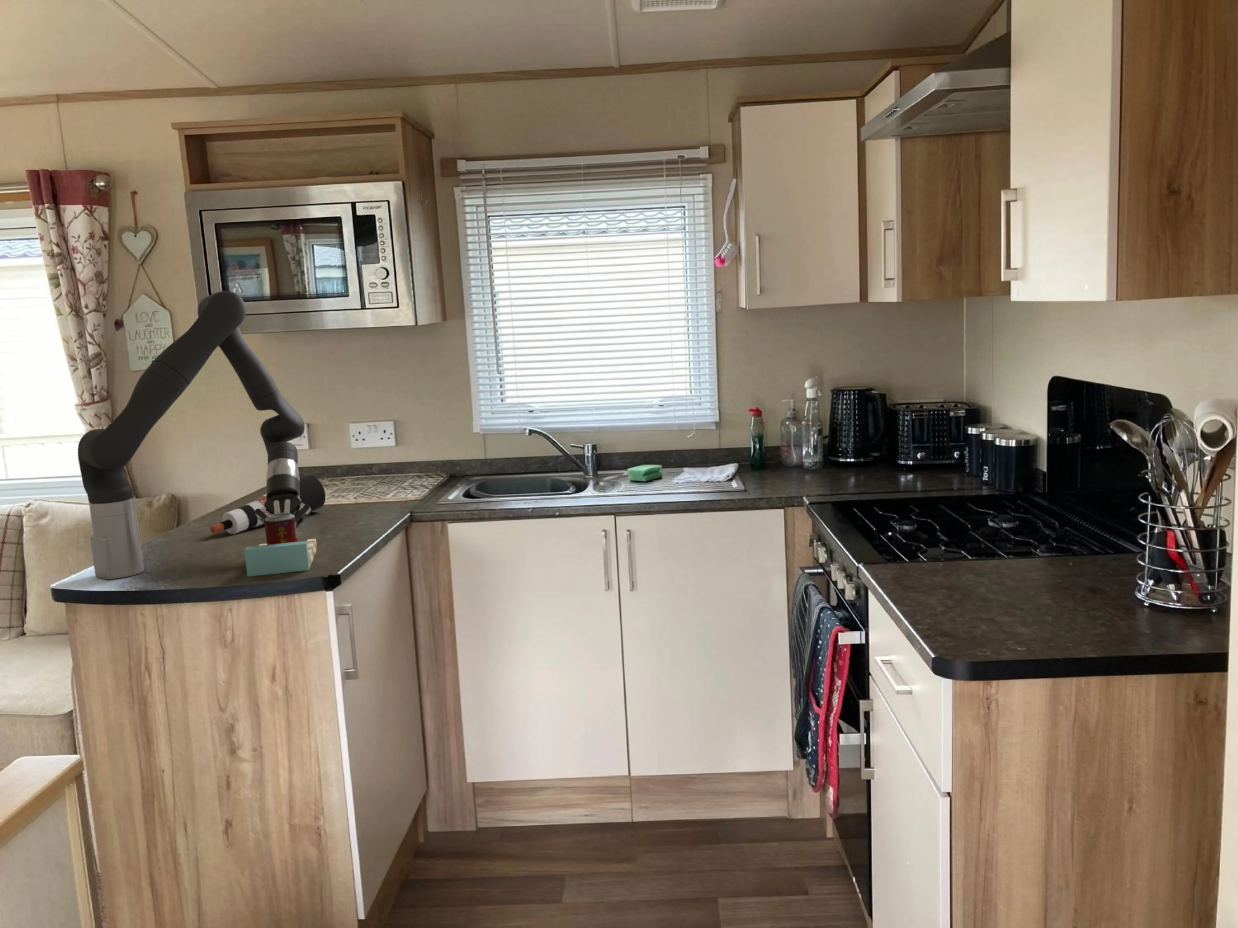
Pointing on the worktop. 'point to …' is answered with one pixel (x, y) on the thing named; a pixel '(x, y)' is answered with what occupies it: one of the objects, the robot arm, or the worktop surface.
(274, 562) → the block
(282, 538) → the soda can
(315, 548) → the guide rails
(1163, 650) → the worktop surface
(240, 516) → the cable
